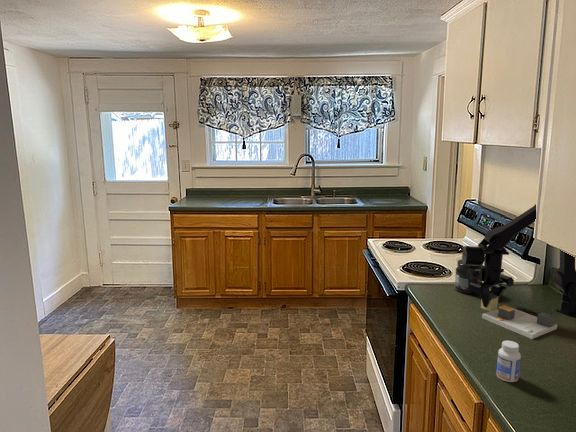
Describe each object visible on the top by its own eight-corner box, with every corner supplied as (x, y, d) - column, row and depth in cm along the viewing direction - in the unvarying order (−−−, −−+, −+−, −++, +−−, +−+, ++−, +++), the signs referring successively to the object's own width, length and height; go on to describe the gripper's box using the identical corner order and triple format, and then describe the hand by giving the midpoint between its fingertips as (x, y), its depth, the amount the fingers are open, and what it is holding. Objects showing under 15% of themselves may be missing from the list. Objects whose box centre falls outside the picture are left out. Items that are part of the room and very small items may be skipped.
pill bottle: (511, 371, 120) (515, 338, 118) (522, 382, 114) (526, 348, 113) (492, 371, 120) (495, 339, 118) (502, 383, 114) (505, 349, 112)
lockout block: (487, 305, 164) (488, 292, 163) (497, 309, 160) (498, 296, 159) (480, 307, 162) (481, 294, 161) (490, 311, 158) (491, 298, 157)
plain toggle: (541, 320, 147) (542, 312, 146) (554, 325, 143) (555, 316, 143) (536, 322, 145) (537, 314, 145) (548, 327, 142) (549, 318, 141)
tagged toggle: (503, 313, 152) (504, 304, 152) (514, 318, 149) (515, 308, 148) (497, 315, 151) (498, 306, 150) (508, 319, 147) (509, 310, 147)
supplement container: (486, 290, 179) (488, 262, 176) (474, 297, 172) (477, 268, 169) (461, 283, 186) (463, 256, 184) (449, 290, 179) (451, 262, 177)
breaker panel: (506, 309, 160) (506, 305, 160) (556, 328, 145) (557, 323, 144) (481, 318, 153) (482, 313, 153) (532, 339, 138) (532, 333, 137)
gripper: (489, 255, 169) (485, 293, 172) (456, 263, 160) (453, 303, 163) (516, 263, 160) (512, 303, 163) (483, 272, 150) (480, 314, 154)
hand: (489, 305), depth 161 cm, fingers closed on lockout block, 4 cm apart
